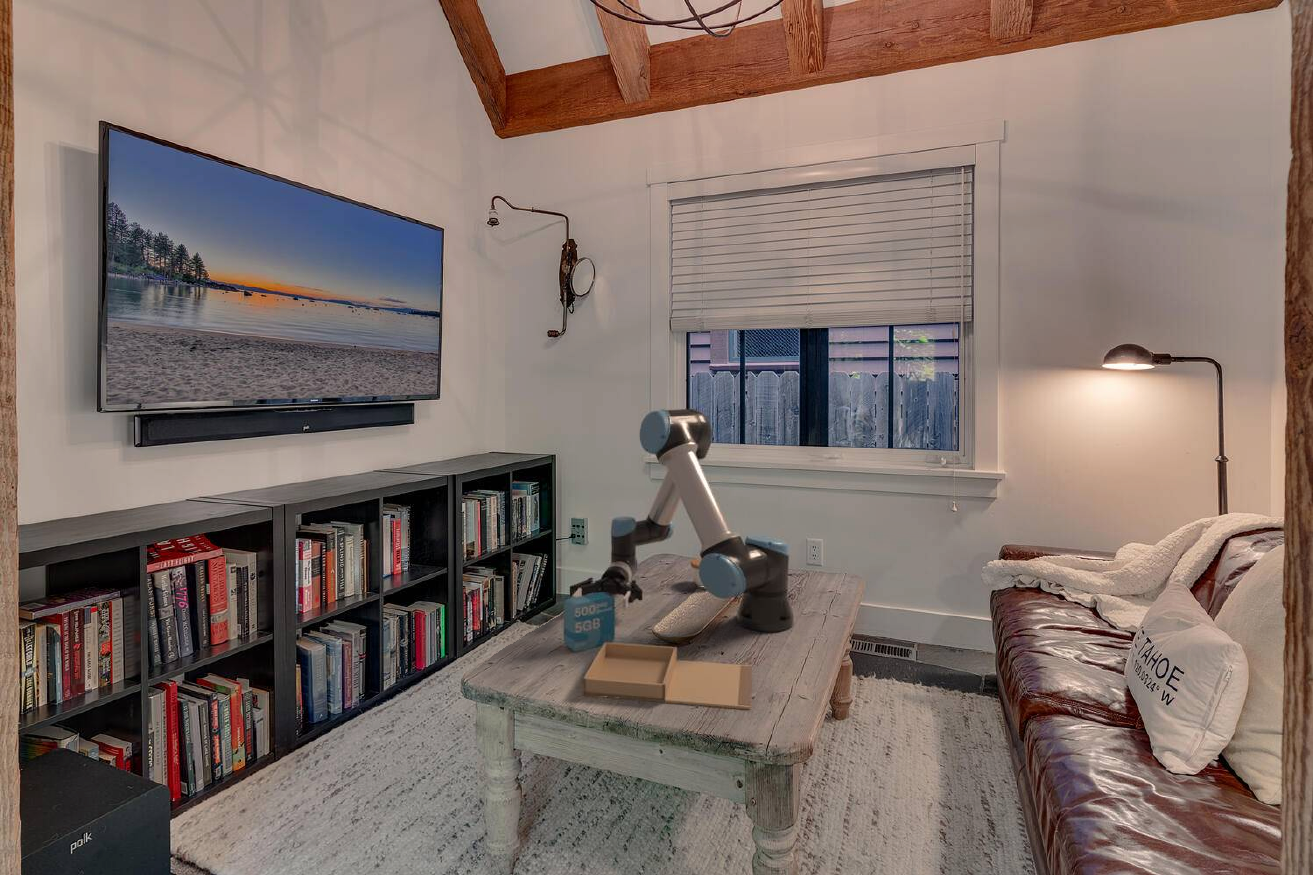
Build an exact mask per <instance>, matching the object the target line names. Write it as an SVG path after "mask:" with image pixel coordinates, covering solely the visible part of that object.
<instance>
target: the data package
mask: <svg viewBox="0 0 1313 875" xmlns="http://www.w3.org/2000/svg"><path fill="white" fill-rule="evenodd" d="M563 603H564V604H563V643H564V644H565V645H566V647H568V648H570V649H571V650H572V652H581V651H585V650H589V649H593V648H597V647H601V646H603V644H604V643H605V642H610V643H613V642H614V640H615V634H616V633H615V632H616V626H615V624H616V621H615V620H616V619H615V617H616V613H615V612H616V611H615V610H616V608H615V607H616V604H615V603H616V602H615V599H614V597H612V596H611V595H610V594H607V592H599V593H592V594H588V595H584V596H579V597H574V598H572V597H571V598H568V599H566V600H565V601H564V602H563Z"/></svg>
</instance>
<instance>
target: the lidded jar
mask: <svg viewBox="0 0 1313 875" xmlns="http://www.w3.org/2000/svg"><path fill="white" fill-rule="evenodd" d="M701 560H702V559H701V557H696V558H693V559H692V560H690V574H691V578H692V580H693V582H694V583H695V584H696V585H697V588H700V586H703V584H702V582H701V580H700V577H699V570H700V569H699V564H700V561H701Z"/></svg>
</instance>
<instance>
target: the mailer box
mask: <svg viewBox="0 0 1313 875" xmlns="http://www.w3.org/2000/svg"><path fill="white" fill-rule="evenodd" d="M601 646H602V647H601V648H600V649H599V651H598V653H597V654H596V657H595V658H594V660H593V662H592V663H591V665H590V667H589V668H588V670H587V671H586V673H585V675H584V677H583V679H582V680H583V681H582V689H583V691H582V692H583V693H582V694H583V696H584V695H587V696H586V697H596V696H607V697H606V698H608V697H619V698H625V699H624V700H631V699H636V700H635V701H643V700H646V701H647V702H655V701H659V702H658V703H667V702H668V704H679V703H682V704H681V705H691V706H693V705H694V706H704V707H705V706H706V707H715V708H728V709H738V710H751V692H752V665H750V664H749V665H748V664H746V665H745V664H733V663H732V664H731V663H719V662H708V661H707V662H706V661H695V660H680V659H678V647H677V646H663V645H652V644H651V645H647V644H636V643H621V642H620V643H619V642H611V643H610V642H605V643H604V644H603V645H601ZM619 698H618V699H619Z"/></svg>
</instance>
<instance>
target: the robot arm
mask: <svg viewBox="0 0 1313 875" xmlns="http://www.w3.org/2000/svg"><path fill="white" fill-rule="evenodd" d="M712 428H713V427H712V425H711V423H710V420H709V419H708V418H707V416H706V415H705V414H704V413H703V412H701V411H699V410H697V409H694V408H684V409H683V408H682V409H679V408H678V409H664V408H663V409H659V410H652V411H651V412H649V413H647V414H646V415H645V416H644V418H643V419H642V422H641V423H640V429H639V441H640V444H641V447H642V449H643V450H644V451H645V452H647V453H648V454H651V455H655V458H656V460H657V461H658V464H659V465H661V466H663V467H666V468H667V471H666V474H665V476H664V479H663V481H662V482H661V485H660V488H659V489H658V492H657V494H656V497H655V499H654V501H653V503H652V505H651V508H650V510H649V513H648V515H647V517H646V519H644V520H636V519H635V518H634V517H633V516H618V517H614V518H612V520H611V525H610V527H611V528H610V540H611V542H610V543H611V544H610V546H611V548H610V549H611V552H610V556H611V557H610V565H609V566H608V568H606V570H605V571H604V572H603V574H602V575H601V578H600V579H598V580H594V578H593V577H588V579H585V580H583V581H580V582H578V583H575V584H573V585H570V586H569V596H570V597H571V598H574V597H579V596H584V595H589V594H594V593H599V592H604V593H608V594H609V595H619V596H621V595H622V596H623V599H622V610H626V609H627V608H628V606H629V605H630V604H632V603H634V601H636V600H638V601H643V590H642V589H641V587H640V586H639V585H638V584H637V581H636V580H632V578H633V577H634V576H635V574H636V573H637V571H638V568H639V565H638V564H639V563H638V562H639V561H638V560H637V557H636V556H637V555H636V554H637V553H636V552H637V547H640V546H644V545H649V544H654V543H660V542H664V541H666V540H669V539H670V538H672V536H673V535H674V523H673V519H674V517H675V514H676V513H677V510H678V508H679V506H680V503H681V502H682V504H683V507H684V508H685V511H686V513H687V516H688V517H689V520H690V521H691V524H692V526H693V528H694V531H695V533H696V535H697V537H698V540H699V542H700V544H701V549H700V551H699V556H700V558H701V559H702V560H701V561H700V564H699V569H700V570H699V577H700V580H701V582H702V584H703V586H704V587H705V588H704V589H705V590H706V591H707V592H708V593H709V594H710V595H712V596H714V597H716V598H718V599H730V598H737V597H739V596H740V595H742V598H741V600H740V603H739V606H738V609H737V612H736V613H737V614H736V622H737V623H738V624H739V625H741V626H742V627H744V628H746V629H749V630H753V631H757V632H767V633H768V632H773V633H774V632H782V631H786V630H788V629H790V628H792V627H793V626H794V620H795V616H794V611H793V608H792V605H791V602H790V598H789V595H788V593H789V592H788V590H789V562H790V560H789V559H790V558H789V557H790V553H789V552H790V551H789V549H790V548H789V544H788V542H786V541H785V540H784V539H780V538H778V537H771V536H764V535H748V536H746V537H745V540H744V541H743V539H742V537H741V535H739V534H737V533H734V531H732V530H731V527H730V524H729V523H728V520H727V519H726V516H725V514H724V511H723V510H722V507H721V506H720V502H719V501H718V499H717V497H716V495H715V493H714V490H713V489H712V486H711V484H710V483H709V480H708V477H707V476H706V473H705V471H704V469H703V467H702V465H701V463H700V461H703V460H705V458H706V456H707V454H708V452H709V450H710V448H711V443H712V439H713V430H712Z"/></svg>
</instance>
